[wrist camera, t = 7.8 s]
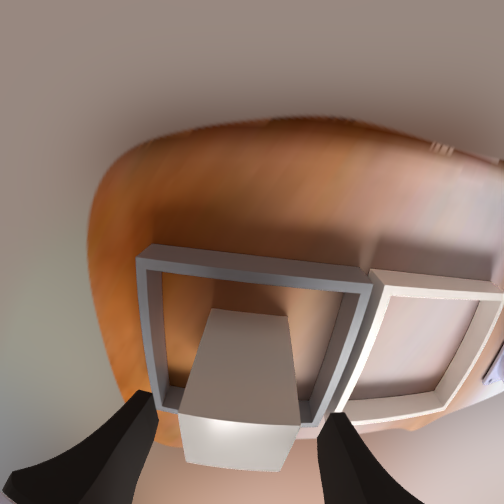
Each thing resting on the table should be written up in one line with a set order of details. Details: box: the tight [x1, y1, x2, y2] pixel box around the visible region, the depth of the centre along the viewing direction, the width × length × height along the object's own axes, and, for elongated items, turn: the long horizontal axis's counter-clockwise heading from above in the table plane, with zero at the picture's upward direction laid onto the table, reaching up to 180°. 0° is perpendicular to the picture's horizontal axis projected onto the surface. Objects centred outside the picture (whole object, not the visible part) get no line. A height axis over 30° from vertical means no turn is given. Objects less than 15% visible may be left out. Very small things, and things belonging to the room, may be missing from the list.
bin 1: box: [136, 244, 373, 427], centre depth 14 cm, size 10×10×2 cm
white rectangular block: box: [178, 308, 301, 472], centre depth 11 cm, size 4×4×7 cm
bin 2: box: [324, 268, 504, 425], centre depth 14 cm, size 10×10×2 cm
